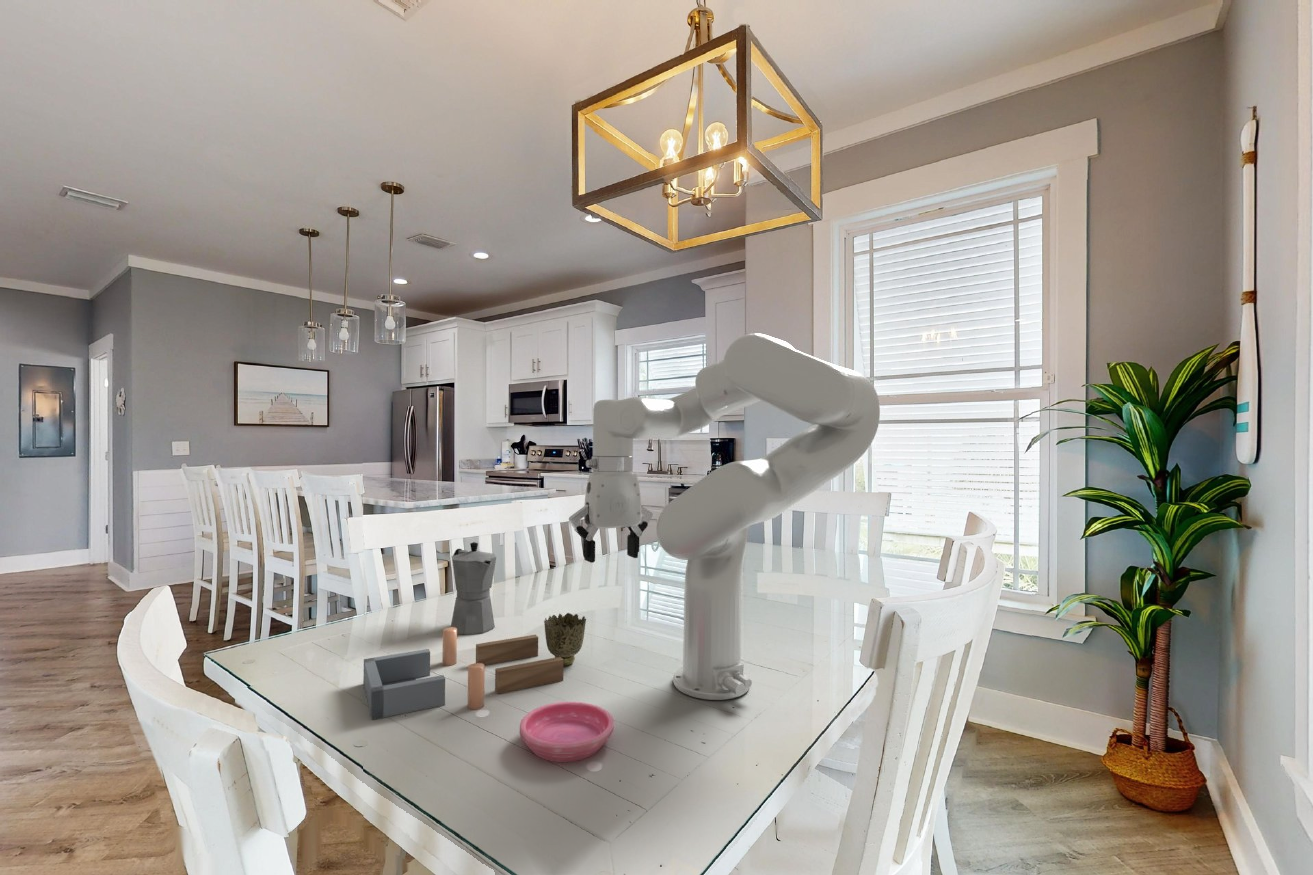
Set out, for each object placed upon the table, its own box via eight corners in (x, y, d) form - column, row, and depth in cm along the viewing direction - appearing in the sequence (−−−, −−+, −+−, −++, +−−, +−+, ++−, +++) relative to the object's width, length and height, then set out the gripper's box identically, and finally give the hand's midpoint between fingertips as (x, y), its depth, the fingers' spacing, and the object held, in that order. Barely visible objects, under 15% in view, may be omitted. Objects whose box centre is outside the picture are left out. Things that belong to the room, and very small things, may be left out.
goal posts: (485, 707, 90) (486, 667, 90) (469, 710, 89) (470, 670, 89) (454, 659, 108) (455, 626, 108) (441, 661, 107) (441, 628, 107)
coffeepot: (508, 630, 125) (510, 544, 124) (466, 641, 118) (467, 549, 118) (473, 613, 136) (475, 534, 136) (433, 622, 129) (434, 538, 129)
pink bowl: (569, 713, 89) (570, 692, 89) (632, 741, 81) (632, 718, 81) (499, 746, 79) (500, 722, 79) (563, 782, 72) (563, 756, 72)
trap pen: (444, 704, 91) (445, 678, 91) (371, 719, 85) (372, 691, 85) (428, 672, 103) (428, 648, 103) (363, 683, 98) (363, 659, 98)
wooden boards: (563, 680, 100) (563, 659, 100) (497, 693, 95) (497, 671, 95) (535, 653, 112) (535, 634, 112) (475, 663, 107) (476, 644, 107)
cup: (535, 662, 108) (535, 618, 108) (567, 652, 113) (568, 610, 113) (560, 674, 103) (561, 628, 102) (593, 663, 108) (594, 618, 108)
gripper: (577, 467, 105) (576, 567, 105) (662, 466, 113) (661, 558, 113) (561, 465, 111) (560, 559, 111) (643, 464, 120) (642, 551, 120)
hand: (611, 558), depth 112 cm, fingers open, 8 cm apart
